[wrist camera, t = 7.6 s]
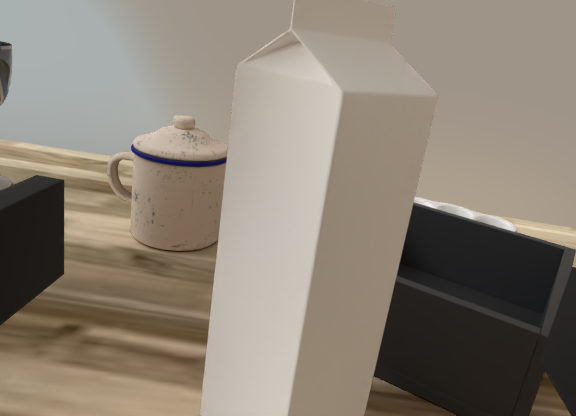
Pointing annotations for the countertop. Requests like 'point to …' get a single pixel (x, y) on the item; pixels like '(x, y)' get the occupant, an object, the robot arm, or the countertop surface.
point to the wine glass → (5, 88)
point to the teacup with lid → (174, 186)
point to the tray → (471, 314)
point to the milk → (313, 213)
